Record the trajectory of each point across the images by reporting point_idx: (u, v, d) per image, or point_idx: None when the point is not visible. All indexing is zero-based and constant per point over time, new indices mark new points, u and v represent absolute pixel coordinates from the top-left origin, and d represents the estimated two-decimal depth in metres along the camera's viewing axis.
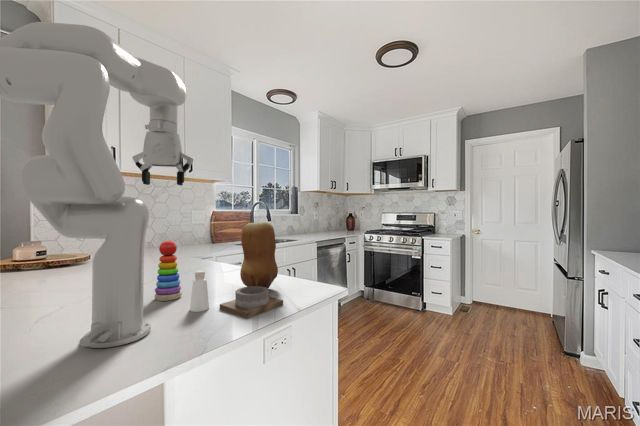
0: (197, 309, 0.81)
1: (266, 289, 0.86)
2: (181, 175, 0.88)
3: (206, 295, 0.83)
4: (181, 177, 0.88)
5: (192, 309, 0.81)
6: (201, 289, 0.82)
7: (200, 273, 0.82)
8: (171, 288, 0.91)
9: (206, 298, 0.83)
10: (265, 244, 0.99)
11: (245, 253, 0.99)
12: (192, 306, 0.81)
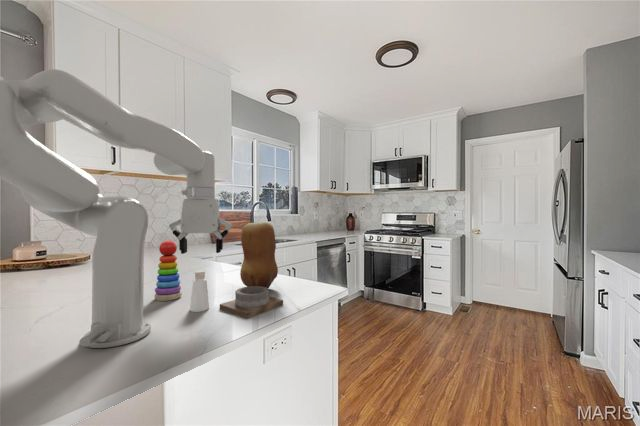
0: (197, 309, 0.81)
1: (266, 289, 0.86)
2: (220, 242, 0.84)
3: (206, 295, 0.83)
4: (220, 244, 0.84)
5: (192, 309, 0.81)
6: (201, 289, 0.82)
7: (200, 273, 0.82)
8: (171, 288, 0.91)
9: (206, 298, 0.83)
10: (265, 244, 0.99)
11: (245, 253, 0.99)
12: (192, 306, 0.81)
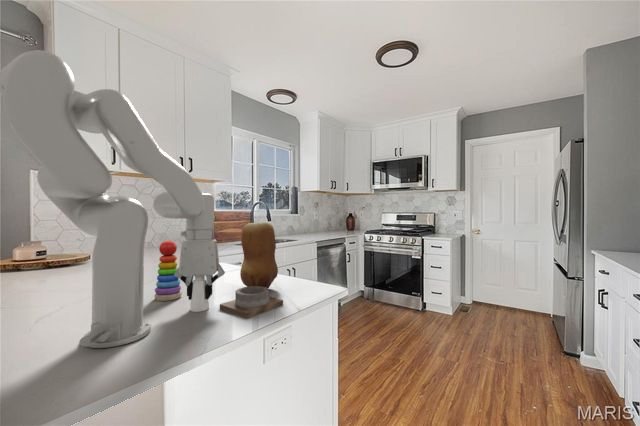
0: (197, 309, 0.81)
1: (266, 289, 0.86)
2: (210, 288, 0.83)
3: None
4: (210, 290, 0.83)
5: (192, 309, 0.81)
6: (201, 289, 0.82)
7: None
8: (171, 288, 0.91)
9: None
10: (265, 244, 0.99)
11: (245, 253, 0.99)
12: (192, 306, 0.81)
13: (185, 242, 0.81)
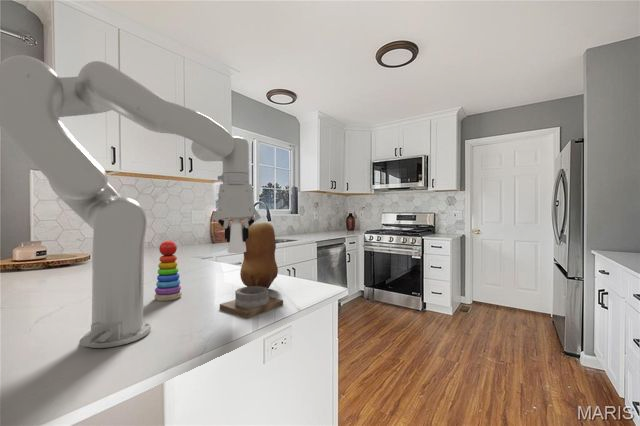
0: (236, 250, 0.83)
1: (266, 289, 0.86)
2: (247, 231, 0.85)
3: None
4: (247, 233, 0.85)
5: (231, 251, 0.83)
6: (239, 231, 0.84)
7: None
8: (171, 288, 0.91)
9: (243, 241, 0.85)
10: (265, 244, 0.99)
11: (245, 253, 0.99)
12: (231, 248, 0.83)
13: (223, 185, 0.82)
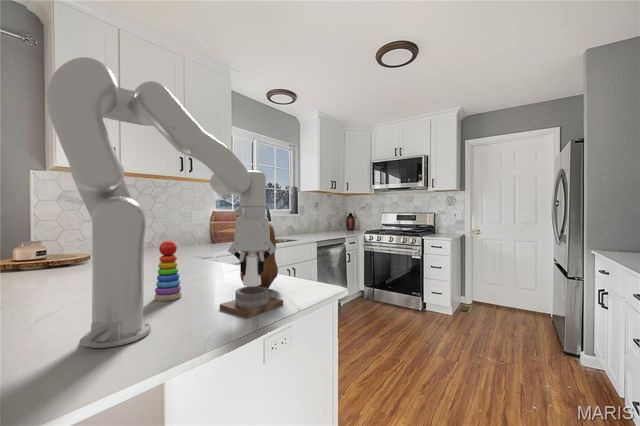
0: (251, 284, 0.83)
1: (266, 289, 0.86)
2: (262, 264, 0.85)
3: None
4: (262, 266, 0.85)
5: (246, 284, 0.83)
6: (255, 264, 0.84)
7: None
8: (171, 288, 0.91)
9: None
10: None
11: None
12: (246, 281, 0.83)
13: (240, 219, 0.83)
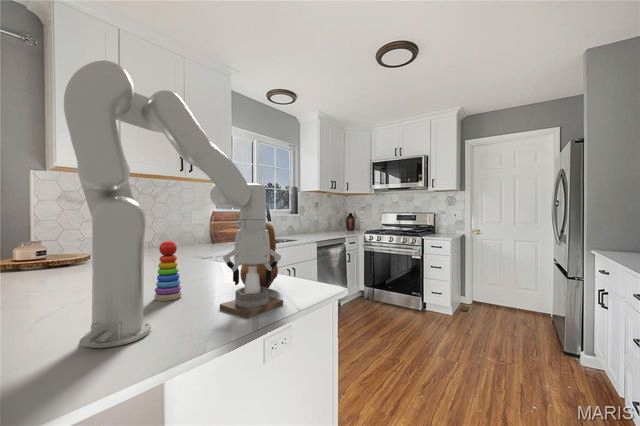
0: None
1: (266, 289, 0.86)
2: (270, 274, 0.85)
3: (259, 288, 0.85)
4: (270, 276, 0.85)
5: None
6: (255, 282, 0.84)
7: (253, 267, 0.84)
8: (171, 288, 0.91)
9: (259, 291, 0.85)
10: None
11: None
12: None
13: (240, 231, 0.83)
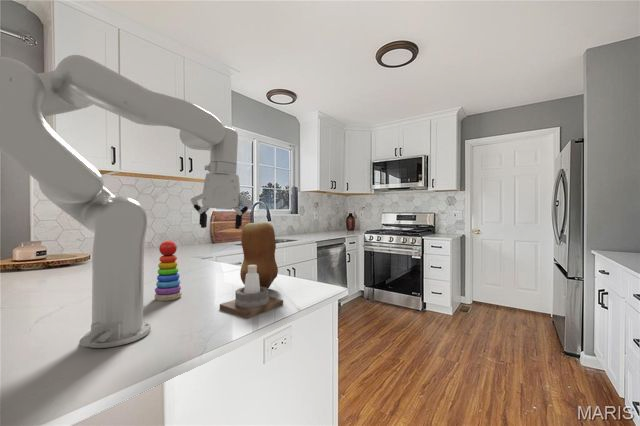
0: None
1: (266, 289, 0.86)
2: (239, 218, 0.84)
3: (258, 288, 0.85)
4: (239, 221, 0.84)
5: None
6: (255, 282, 0.84)
7: (253, 267, 0.84)
8: (171, 288, 0.91)
9: (259, 291, 0.85)
10: (265, 244, 0.99)
11: (245, 253, 0.99)
12: None
13: (209, 174, 0.82)
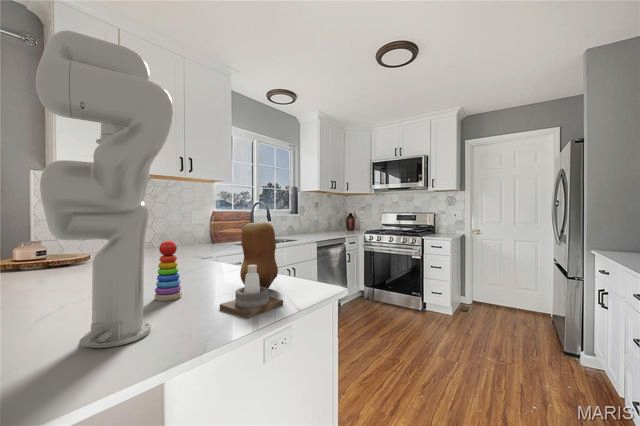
0: None
1: (266, 289, 0.86)
2: None
3: (258, 288, 0.85)
4: None
5: None
6: (255, 282, 0.84)
7: (253, 267, 0.84)
8: (171, 288, 0.91)
9: (259, 291, 0.85)
10: (265, 244, 0.99)
11: (245, 253, 0.99)
12: None
13: None
